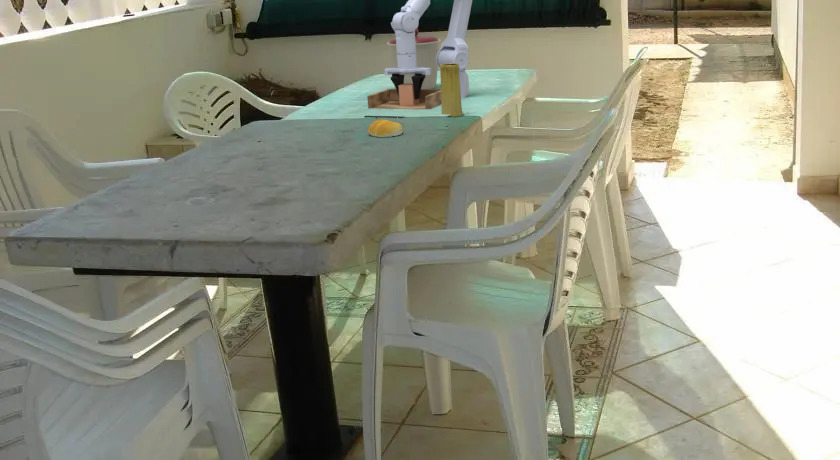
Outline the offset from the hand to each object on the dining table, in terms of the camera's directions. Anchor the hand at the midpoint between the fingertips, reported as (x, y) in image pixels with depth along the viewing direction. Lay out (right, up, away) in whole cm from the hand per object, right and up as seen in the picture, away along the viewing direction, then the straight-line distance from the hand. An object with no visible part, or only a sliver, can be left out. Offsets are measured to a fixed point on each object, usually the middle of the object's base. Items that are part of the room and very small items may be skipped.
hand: (409, 98), depth 268 cm
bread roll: (-6, -15, -40) cm, 43 cm away
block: (0, -2, 0) cm, 2 cm away
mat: (-5, -6, -11) cm, 14 cm away
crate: (0, -3, 0) cm, 3 cm away
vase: (+12, -8, -18) cm, 23 cm away
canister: (+2, +8, +33) cm, 34 cm away
